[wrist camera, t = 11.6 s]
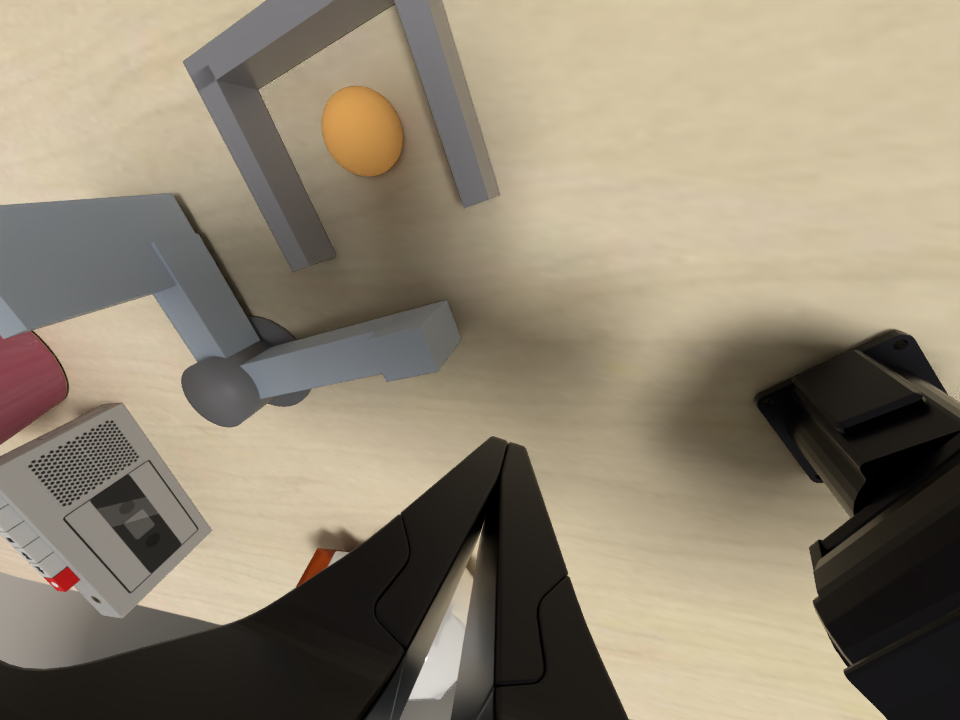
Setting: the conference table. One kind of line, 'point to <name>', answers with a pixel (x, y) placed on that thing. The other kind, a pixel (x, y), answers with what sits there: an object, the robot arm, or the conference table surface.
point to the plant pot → (27, 382)
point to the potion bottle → (447, 643)
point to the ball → (362, 131)
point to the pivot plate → (274, 337)
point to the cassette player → (97, 509)
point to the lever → (191, 303)
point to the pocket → (287, 42)
